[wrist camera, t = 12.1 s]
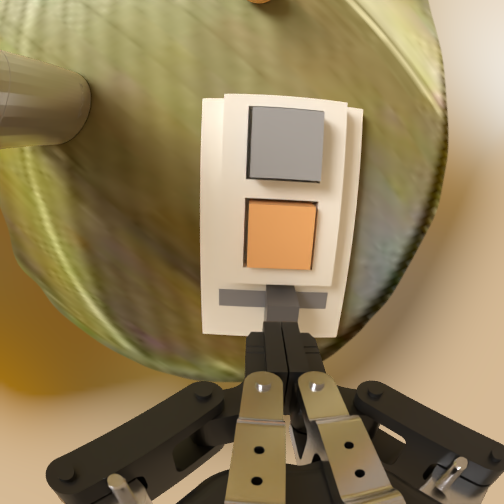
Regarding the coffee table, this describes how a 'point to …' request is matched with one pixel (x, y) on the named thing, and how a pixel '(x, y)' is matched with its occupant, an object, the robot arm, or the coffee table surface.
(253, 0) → the figurine
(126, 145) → the coffee table surface
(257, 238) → the orange button
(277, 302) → the dark grey block
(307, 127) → the grey button
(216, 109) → the control panel
